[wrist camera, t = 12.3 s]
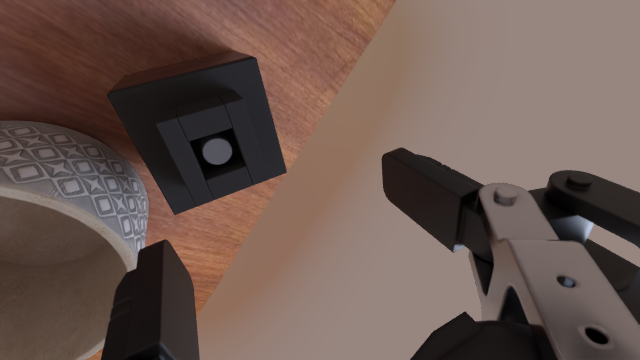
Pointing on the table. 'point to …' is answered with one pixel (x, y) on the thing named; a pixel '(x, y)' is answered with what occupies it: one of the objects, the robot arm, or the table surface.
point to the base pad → (190, 92)
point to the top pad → (204, 121)
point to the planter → (63, 239)
